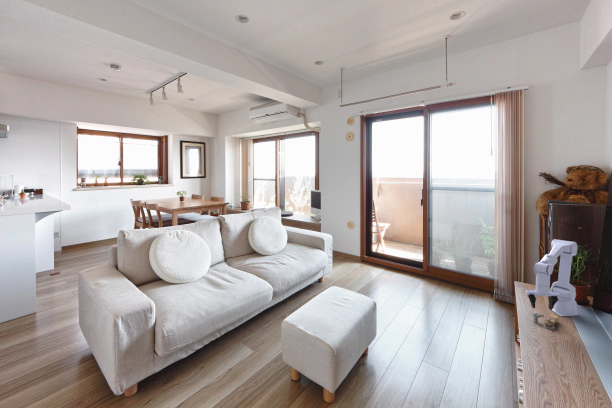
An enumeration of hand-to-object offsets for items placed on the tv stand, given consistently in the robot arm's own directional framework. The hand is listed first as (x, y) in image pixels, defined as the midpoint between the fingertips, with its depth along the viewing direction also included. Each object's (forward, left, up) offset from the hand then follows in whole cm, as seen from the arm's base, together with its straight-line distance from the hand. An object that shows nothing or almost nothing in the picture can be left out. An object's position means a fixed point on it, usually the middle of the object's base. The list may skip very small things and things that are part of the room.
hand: (541, 308), depth 146 cm
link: (-6, -1, -9) cm, 11 cm away
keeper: (-1, -4, -10) cm, 11 cm away
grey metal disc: (-3, +1, -10) cm, 11 cm away
